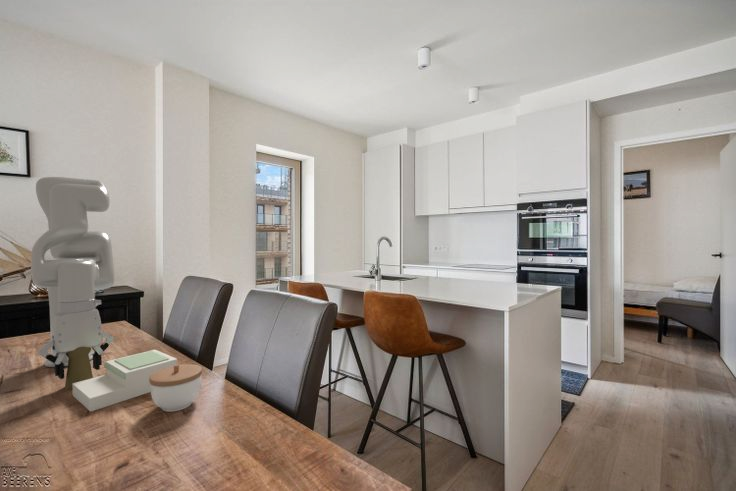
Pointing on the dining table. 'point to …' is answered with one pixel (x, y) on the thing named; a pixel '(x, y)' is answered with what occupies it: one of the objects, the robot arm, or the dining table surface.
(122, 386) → the platform
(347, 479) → the dining table surface
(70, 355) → the cork
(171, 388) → the lidded jar
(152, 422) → the dining table surface
